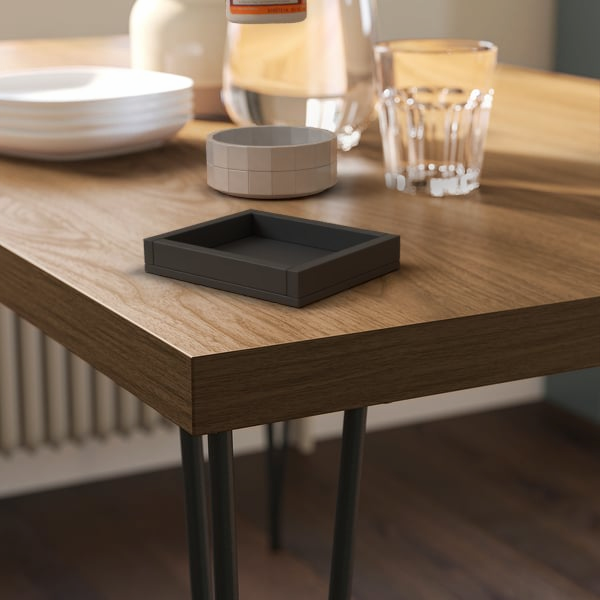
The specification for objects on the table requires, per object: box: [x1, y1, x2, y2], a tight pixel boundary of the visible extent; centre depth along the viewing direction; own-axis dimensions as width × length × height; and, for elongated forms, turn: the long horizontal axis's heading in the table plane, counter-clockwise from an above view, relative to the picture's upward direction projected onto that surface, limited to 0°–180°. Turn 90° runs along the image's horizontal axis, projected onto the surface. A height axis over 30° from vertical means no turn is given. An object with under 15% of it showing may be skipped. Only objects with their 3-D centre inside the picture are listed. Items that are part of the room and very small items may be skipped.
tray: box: [142, 208, 401, 308], centre depth 69 cm, size 12×10×2 cm
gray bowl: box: [205, 124, 338, 200], centre depth 91 cm, size 10×10×4 cm
